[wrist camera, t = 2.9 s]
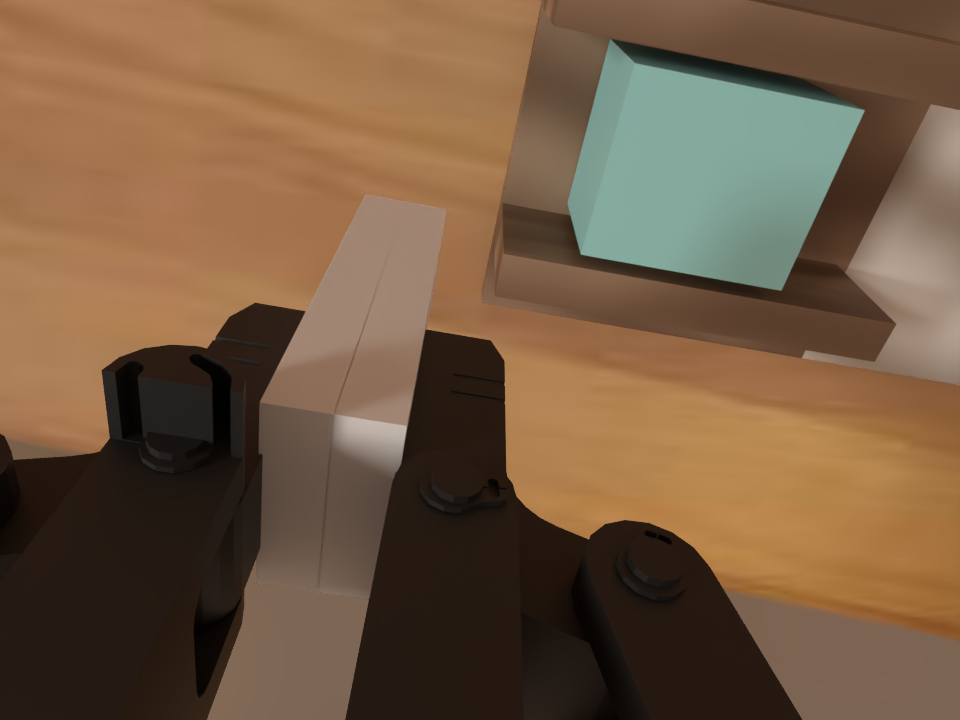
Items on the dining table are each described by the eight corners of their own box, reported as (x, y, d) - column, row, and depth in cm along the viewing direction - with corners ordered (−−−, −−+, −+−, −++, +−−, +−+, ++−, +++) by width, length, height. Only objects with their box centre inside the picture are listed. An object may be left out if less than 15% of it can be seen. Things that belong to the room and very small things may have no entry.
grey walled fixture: (573, -151, 22) (596, -173, 17) (1219, -3, 24) (1413, 17, 19) (481, 292, 31) (479, 365, 25) (965, 376, 32) (1053, 460, 27)
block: (610, 38, 24) (635, 63, 20) (801, 78, 25) (864, 110, 20) (567, 203, 27) (580, 254, 23) (737, 234, 28) (781, 290, 24)
